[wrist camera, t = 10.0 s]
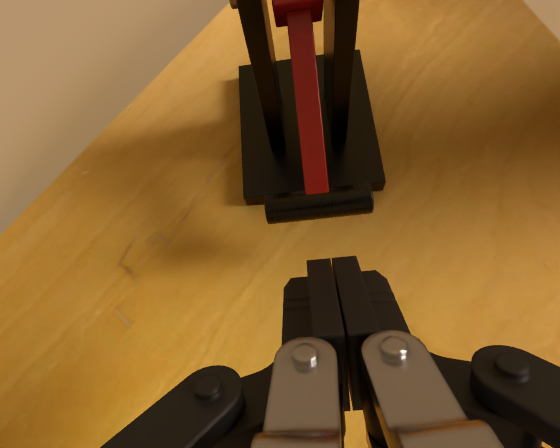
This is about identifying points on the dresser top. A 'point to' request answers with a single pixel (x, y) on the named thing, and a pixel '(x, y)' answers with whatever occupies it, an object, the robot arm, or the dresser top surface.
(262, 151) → the switch bracket
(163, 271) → the dresser top surface
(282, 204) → the switch lever
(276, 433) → the robot arm
